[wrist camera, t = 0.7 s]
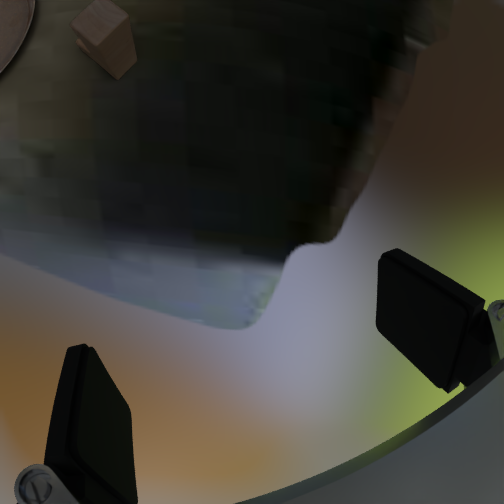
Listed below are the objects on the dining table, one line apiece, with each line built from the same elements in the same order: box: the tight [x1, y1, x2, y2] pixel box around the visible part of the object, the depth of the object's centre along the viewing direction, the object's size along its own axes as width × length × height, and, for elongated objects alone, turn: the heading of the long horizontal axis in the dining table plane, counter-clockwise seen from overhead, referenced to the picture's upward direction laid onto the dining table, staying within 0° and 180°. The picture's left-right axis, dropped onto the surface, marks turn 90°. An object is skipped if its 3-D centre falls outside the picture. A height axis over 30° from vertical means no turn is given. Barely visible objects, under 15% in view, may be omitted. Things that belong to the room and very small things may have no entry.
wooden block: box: [70, 0, 137, 80], centre depth 22 cm, size 7×3×15 cm, turn 45°
